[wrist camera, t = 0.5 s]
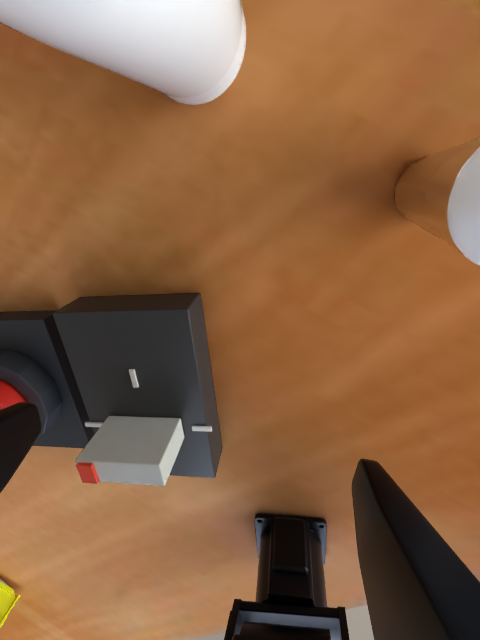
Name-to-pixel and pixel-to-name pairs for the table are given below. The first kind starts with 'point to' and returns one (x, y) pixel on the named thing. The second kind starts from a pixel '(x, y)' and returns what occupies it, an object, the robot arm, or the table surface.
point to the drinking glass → (144, 39)
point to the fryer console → (146, 367)
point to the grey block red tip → (132, 451)
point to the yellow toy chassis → (6, 600)
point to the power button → (9, 395)
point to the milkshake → (445, 196)
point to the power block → (43, 376)
